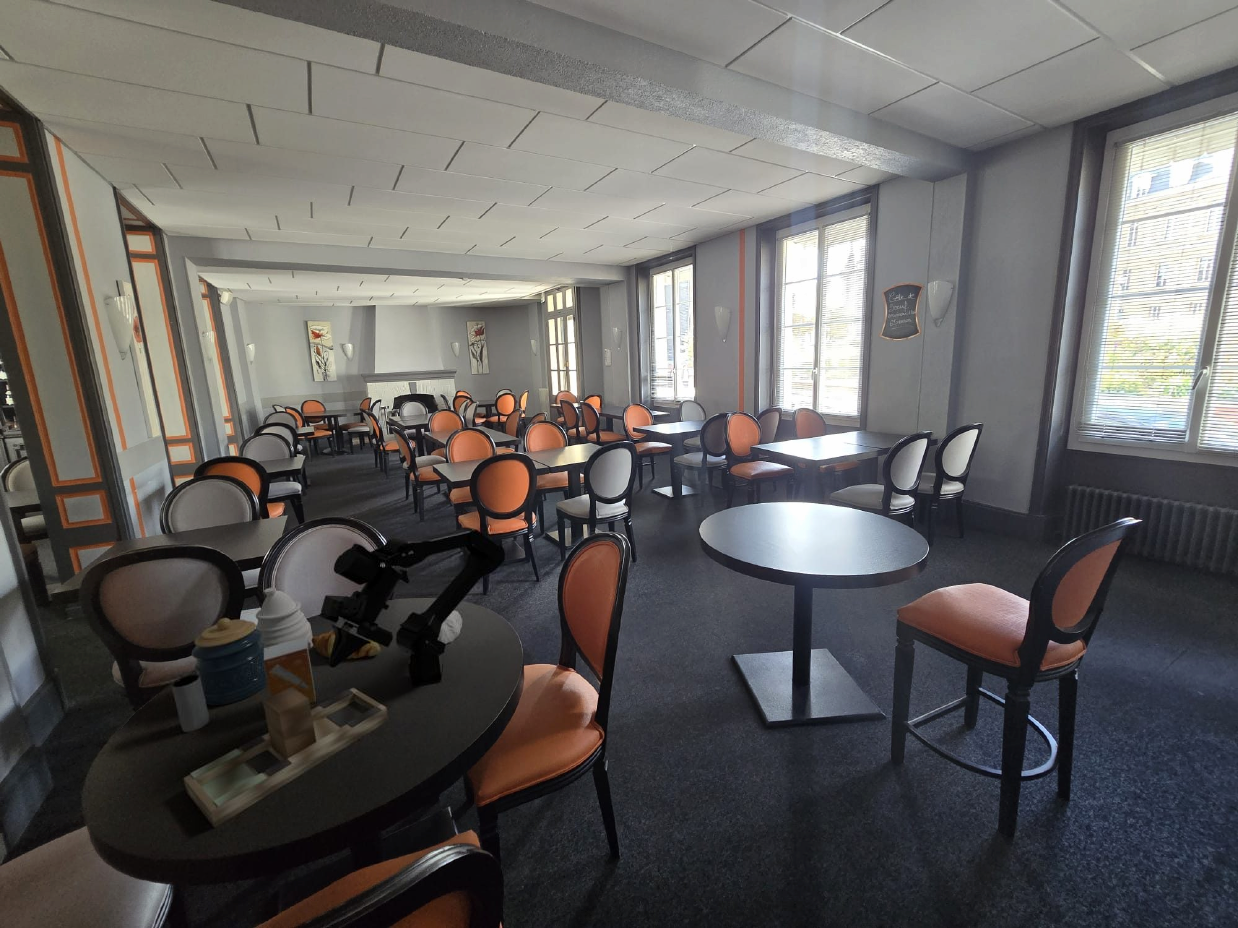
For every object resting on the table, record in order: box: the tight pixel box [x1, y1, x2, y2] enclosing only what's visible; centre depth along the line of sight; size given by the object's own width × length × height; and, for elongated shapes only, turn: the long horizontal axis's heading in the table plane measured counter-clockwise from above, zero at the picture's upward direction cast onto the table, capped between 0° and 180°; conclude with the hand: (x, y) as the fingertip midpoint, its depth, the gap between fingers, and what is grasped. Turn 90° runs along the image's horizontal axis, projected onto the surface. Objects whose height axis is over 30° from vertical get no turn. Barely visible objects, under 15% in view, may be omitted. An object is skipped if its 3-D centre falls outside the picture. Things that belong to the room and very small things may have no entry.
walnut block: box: [262, 687, 316, 759], centre depth 98 cm, size 5×7×10 cm
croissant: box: [311, 629, 381, 660], centre depth 135 cm, size 21×10×8 cm, turn 75°
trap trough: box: [183, 687, 389, 829], centre depth 99 cm, size 30×13×3 cm, turn 145°
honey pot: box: [255, 587, 314, 651], centre depth 137 cm, size 13×13×18 cm
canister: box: [191, 617, 268, 706], centre depth 120 cm, size 13×13×18 cm
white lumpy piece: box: [428, 604, 463, 645], centre depth 140 cm, size 12×8×11 cm
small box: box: [264, 637, 317, 704], centre depth 115 cm, size 8×6×13 cm
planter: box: [171, 674, 210, 733], centre depth 109 cm, size 4×4×10 cm
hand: (330, 666), depth 104 cm, fingers closed
